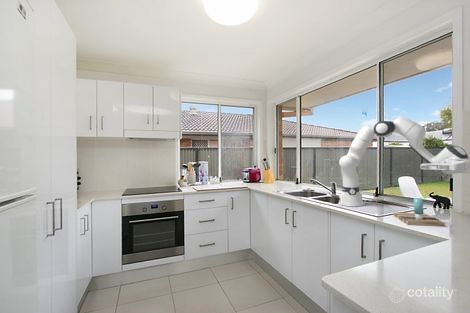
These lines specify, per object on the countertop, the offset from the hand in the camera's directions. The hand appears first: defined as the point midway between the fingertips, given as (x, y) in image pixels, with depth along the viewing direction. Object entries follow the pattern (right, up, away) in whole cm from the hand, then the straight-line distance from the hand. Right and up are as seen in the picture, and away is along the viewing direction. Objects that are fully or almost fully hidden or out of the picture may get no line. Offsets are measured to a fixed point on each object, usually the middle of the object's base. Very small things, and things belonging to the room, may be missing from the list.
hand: (429, 167), depth 128 cm
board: (-9, -30, -2) cm, 32 cm away
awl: (-10, -30, -5) cm, 32 cm away
